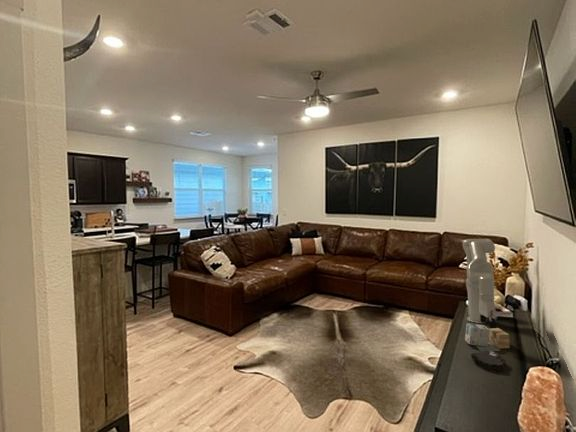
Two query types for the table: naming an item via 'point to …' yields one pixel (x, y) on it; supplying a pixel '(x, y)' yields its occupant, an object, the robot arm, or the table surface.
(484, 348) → the grey mat
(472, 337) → the light bulb box
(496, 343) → the tan block
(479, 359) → the rock sample
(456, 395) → the table surface
